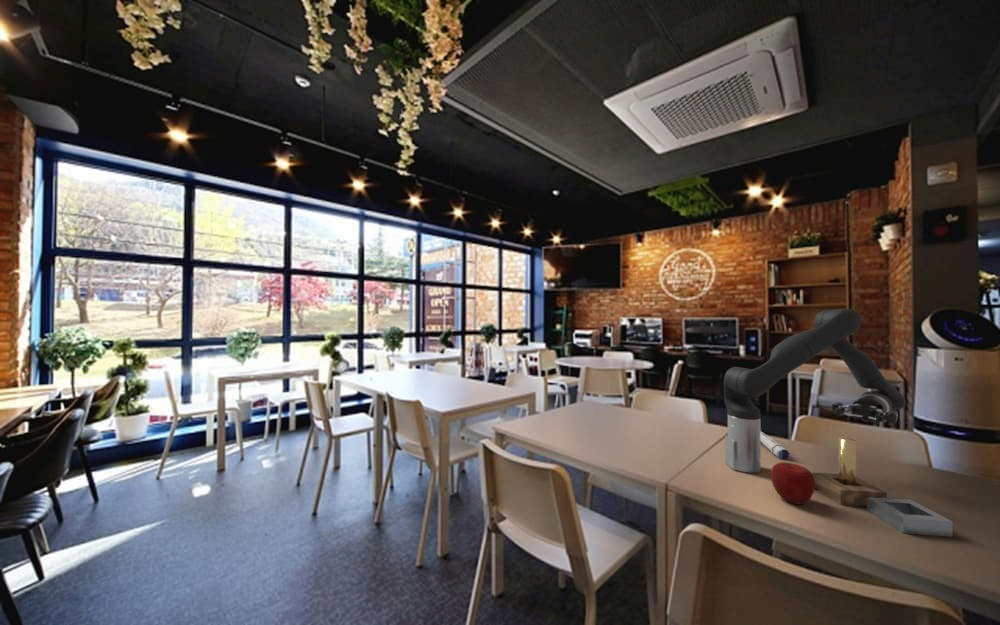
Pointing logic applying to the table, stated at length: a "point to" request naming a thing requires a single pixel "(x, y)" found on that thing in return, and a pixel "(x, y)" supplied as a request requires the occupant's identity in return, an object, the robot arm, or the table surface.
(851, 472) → the brass axle
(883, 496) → the walnut block
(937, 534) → the grey steel socket block
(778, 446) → the white marker pen
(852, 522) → the table surface
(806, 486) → the apple
